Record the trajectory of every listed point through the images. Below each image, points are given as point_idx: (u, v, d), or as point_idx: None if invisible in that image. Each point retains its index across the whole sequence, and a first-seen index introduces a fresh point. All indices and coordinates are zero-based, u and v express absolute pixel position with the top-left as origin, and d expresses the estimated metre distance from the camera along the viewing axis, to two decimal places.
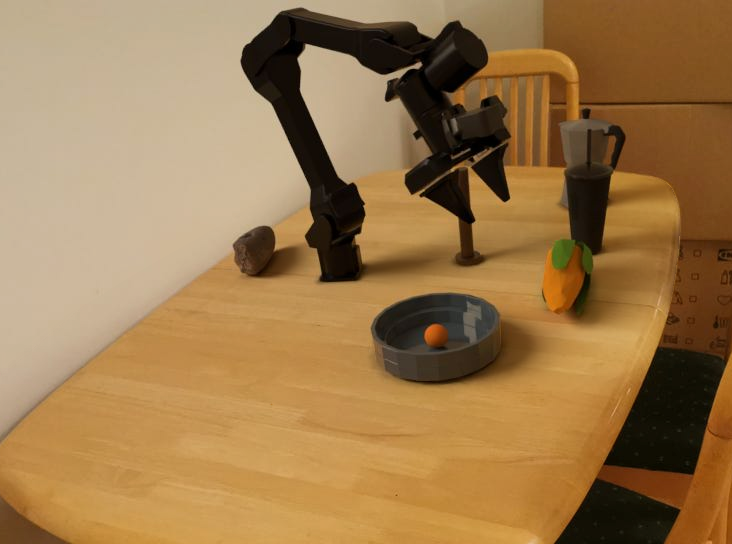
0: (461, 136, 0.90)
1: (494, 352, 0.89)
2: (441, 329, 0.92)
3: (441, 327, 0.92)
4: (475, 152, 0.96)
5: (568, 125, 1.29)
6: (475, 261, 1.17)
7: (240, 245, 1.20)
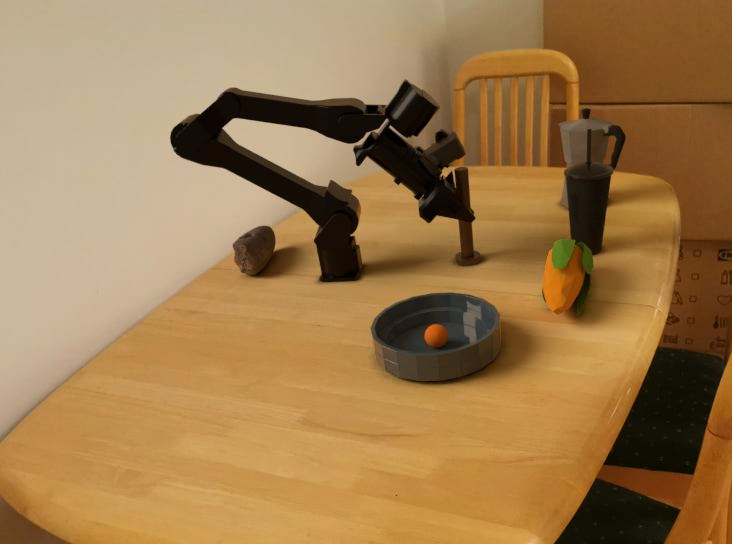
0: (441, 165, 1.08)
1: (494, 352, 0.89)
2: (441, 329, 0.92)
3: (441, 327, 0.92)
4: None
5: (568, 125, 1.29)
6: (475, 261, 1.17)
7: (240, 245, 1.20)
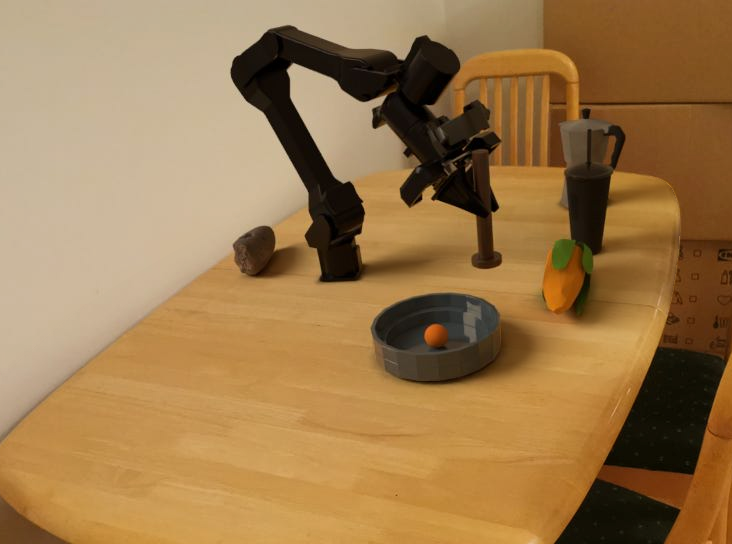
0: (449, 143, 0.91)
1: (494, 352, 0.89)
2: (441, 329, 0.92)
3: (441, 327, 0.92)
4: None
5: (568, 125, 1.29)
6: (487, 265, 0.97)
7: (240, 245, 1.20)
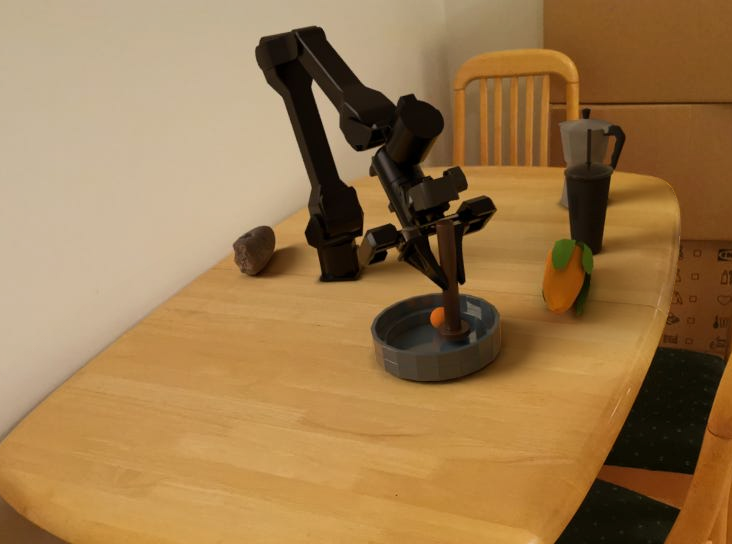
0: (414, 208, 0.87)
1: (494, 352, 0.89)
2: None
3: None
4: None
5: (568, 125, 1.29)
6: (446, 337, 0.92)
7: (240, 245, 1.20)
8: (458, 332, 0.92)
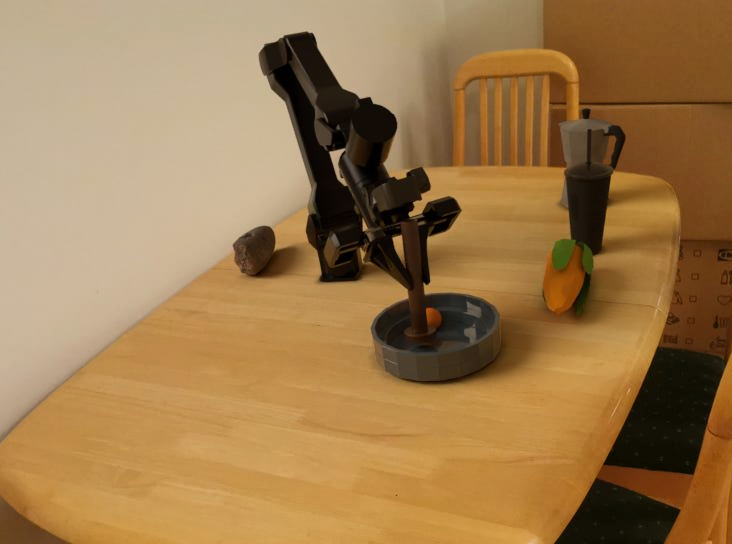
0: (378, 209, 0.88)
1: (494, 352, 0.89)
2: (436, 328, 0.98)
3: None
4: None
5: (568, 125, 1.29)
6: (412, 339, 0.92)
7: (240, 245, 1.20)
8: (424, 334, 0.92)
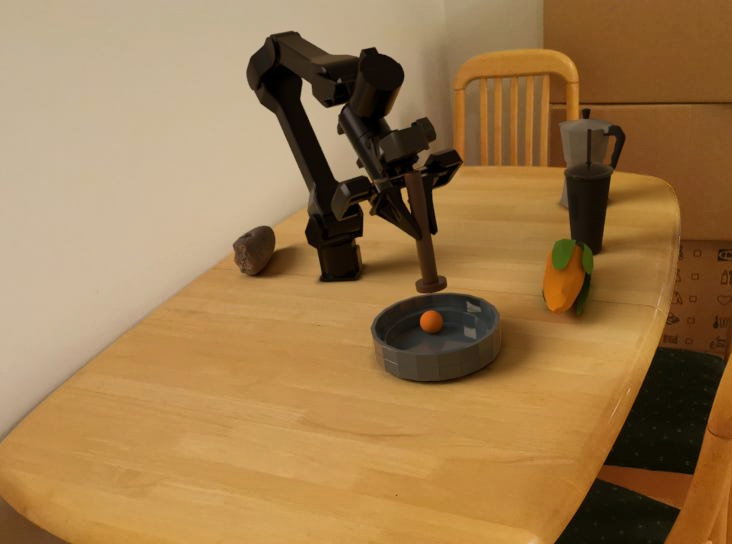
0: (385, 160, 0.88)
1: (494, 352, 0.89)
2: None
3: None
4: None
5: (568, 125, 1.29)
6: (425, 290, 0.94)
7: (240, 245, 1.20)
8: (435, 284, 0.94)
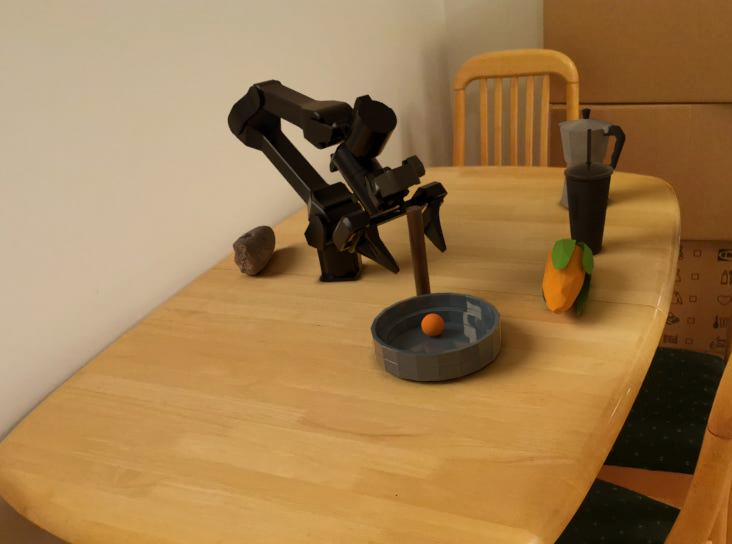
0: (381, 194, 0.98)
1: (494, 352, 0.89)
2: None
3: None
4: None
5: (568, 125, 1.29)
6: None
7: (240, 245, 1.20)
8: None
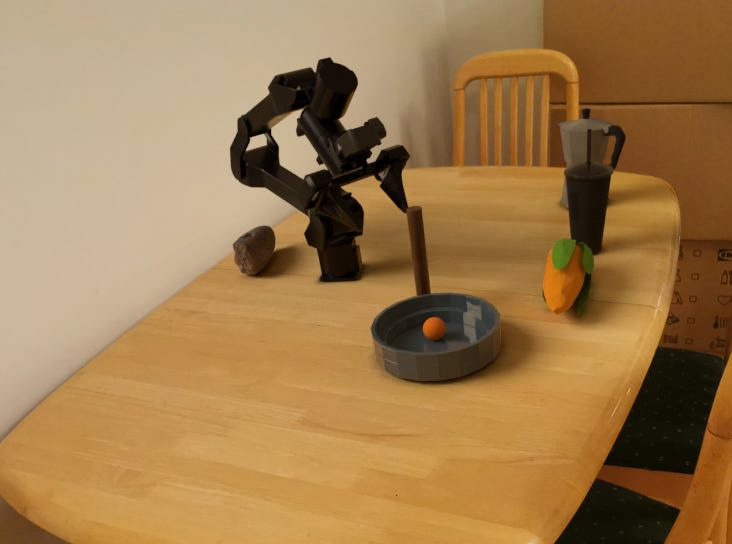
0: (343, 155, 1.01)
1: (494, 352, 0.89)
2: None
3: None
4: (373, 171, 1.07)
5: (568, 125, 1.29)
6: None
7: (240, 245, 1.20)
8: None
